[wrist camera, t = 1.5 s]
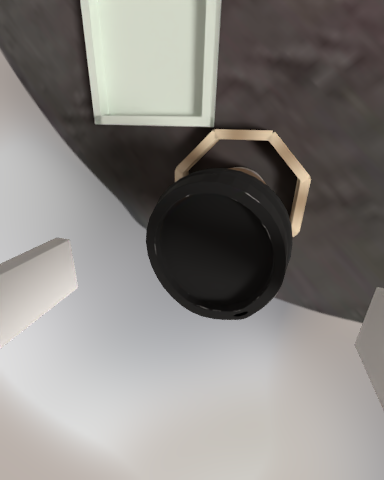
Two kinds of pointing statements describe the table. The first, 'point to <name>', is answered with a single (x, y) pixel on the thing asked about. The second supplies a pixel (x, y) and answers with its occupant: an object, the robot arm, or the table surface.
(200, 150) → the holder ring
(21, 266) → the robot arm
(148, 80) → the tray
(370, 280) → the table surface
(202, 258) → the coffee cup
